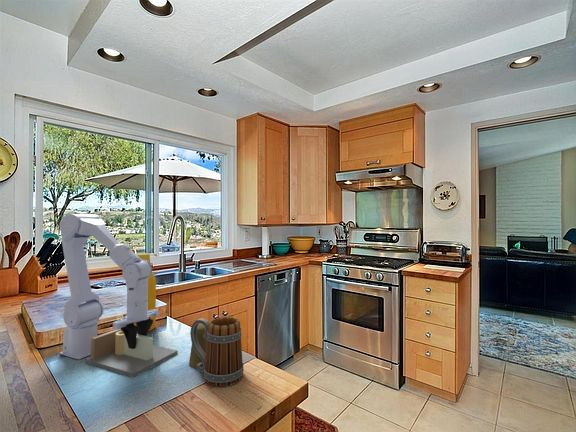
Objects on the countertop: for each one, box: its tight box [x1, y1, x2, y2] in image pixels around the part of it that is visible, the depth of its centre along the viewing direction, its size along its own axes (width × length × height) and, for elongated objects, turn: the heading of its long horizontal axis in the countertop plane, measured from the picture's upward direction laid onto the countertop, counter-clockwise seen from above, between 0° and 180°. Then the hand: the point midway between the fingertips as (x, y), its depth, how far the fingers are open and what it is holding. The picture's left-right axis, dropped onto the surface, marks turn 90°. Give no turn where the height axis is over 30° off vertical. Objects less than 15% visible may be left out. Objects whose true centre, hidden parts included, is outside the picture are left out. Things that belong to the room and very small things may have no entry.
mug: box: [189, 316, 245, 388], centre depth 83 cm, size 16×11×15 cm
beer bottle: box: [134, 253, 157, 334], centre depth 118 cm, size 9×9×29 cm
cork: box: [188, 324, 207, 369], centre depth 90 cm, size 6×6×11 cm
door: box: [115, 331, 154, 361], centre depth 93 cm, size 14×4×6 cm, turn 66°
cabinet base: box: [85, 324, 178, 378], centre depth 93 cm, size 20×16×7 cm
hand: (136, 346), depth 92 cm, fingers open, 3 cm apart
